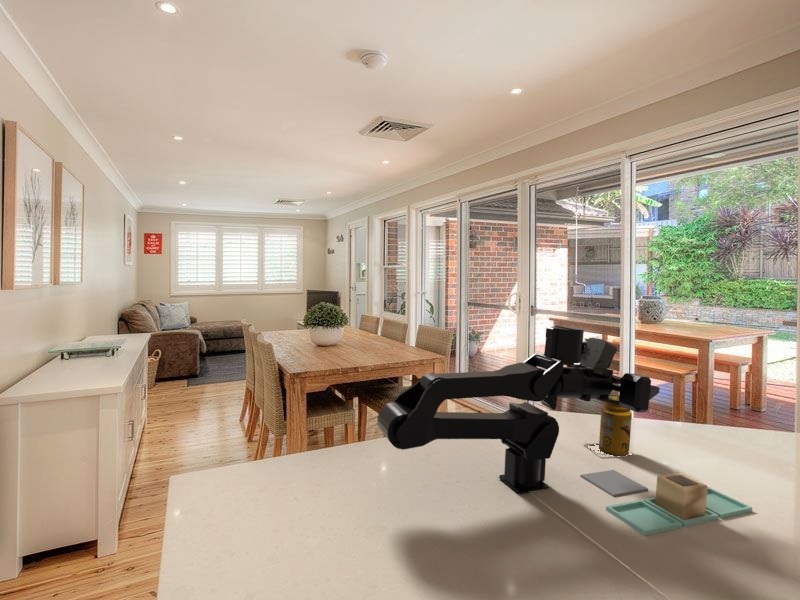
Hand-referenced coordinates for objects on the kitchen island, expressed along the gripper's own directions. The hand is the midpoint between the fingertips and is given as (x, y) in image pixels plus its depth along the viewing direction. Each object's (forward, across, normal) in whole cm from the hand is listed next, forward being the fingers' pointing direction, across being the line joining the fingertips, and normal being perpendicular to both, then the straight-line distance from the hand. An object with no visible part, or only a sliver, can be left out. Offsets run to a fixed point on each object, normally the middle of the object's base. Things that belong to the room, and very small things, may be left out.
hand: (638, 384), depth 91 cm
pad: (-8, -4, +18) cm, 20 cm away
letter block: (-5, -15, +18) cm, 24 cm away
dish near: (-13, -15, +18) cm, 27 cm away
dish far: (+3, -15, +17) cm, 23 cm away
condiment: (+4, +9, +17) cm, 20 cm away
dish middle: (-5, -15, +18) cm, 24 cm away
